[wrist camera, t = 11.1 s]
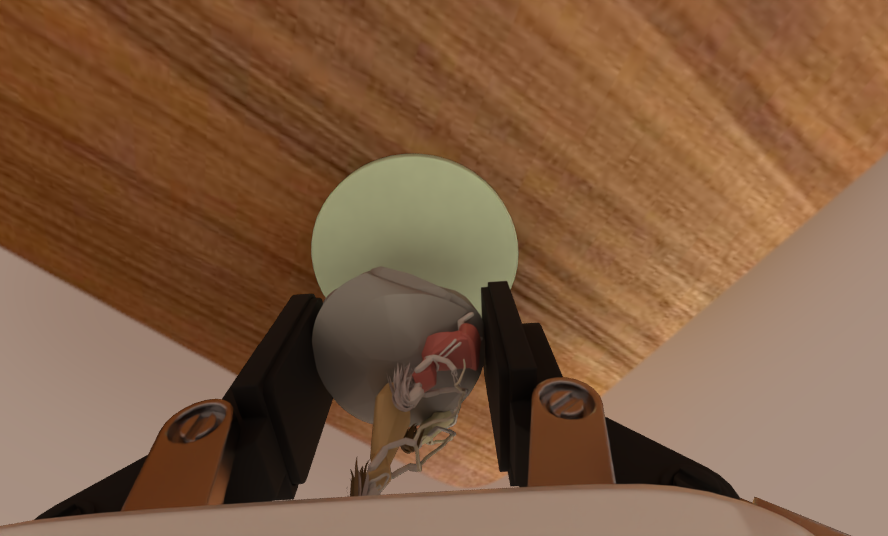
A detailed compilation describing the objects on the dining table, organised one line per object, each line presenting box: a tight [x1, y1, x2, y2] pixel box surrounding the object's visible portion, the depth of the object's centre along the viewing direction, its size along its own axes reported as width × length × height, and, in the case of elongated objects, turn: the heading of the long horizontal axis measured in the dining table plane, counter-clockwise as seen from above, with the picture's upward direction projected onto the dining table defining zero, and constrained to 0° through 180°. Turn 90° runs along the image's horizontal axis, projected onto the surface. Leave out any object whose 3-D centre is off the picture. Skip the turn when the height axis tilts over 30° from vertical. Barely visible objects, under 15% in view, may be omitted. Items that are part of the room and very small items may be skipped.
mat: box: [311, 154, 518, 318], centre depth 17 cm, size 8×8×1 cm
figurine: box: [312, 266, 486, 497], centre depth 10 cm, size 5×4×6 cm
